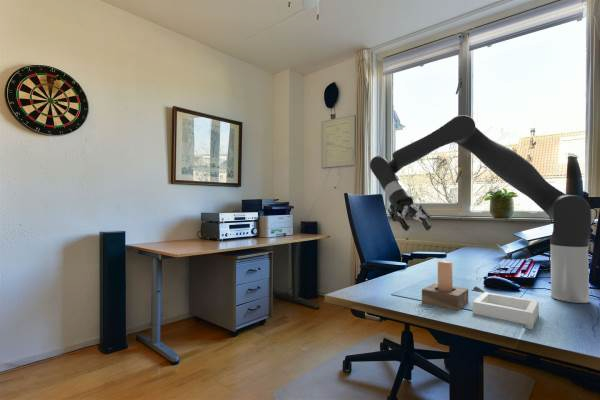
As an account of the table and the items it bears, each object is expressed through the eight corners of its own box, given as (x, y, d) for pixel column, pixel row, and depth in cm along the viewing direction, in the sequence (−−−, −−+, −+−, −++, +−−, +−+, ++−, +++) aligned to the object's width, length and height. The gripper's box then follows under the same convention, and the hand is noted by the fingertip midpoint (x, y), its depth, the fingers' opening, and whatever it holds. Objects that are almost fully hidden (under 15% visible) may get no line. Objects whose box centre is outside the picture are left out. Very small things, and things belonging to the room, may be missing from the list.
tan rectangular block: (440, 299, 96) (440, 260, 97) (454, 302, 94) (454, 262, 94) (435, 302, 93) (435, 262, 94) (450, 305, 91) (449, 263, 91)
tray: (484, 305, 94) (484, 292, 94) (538, 315, 85) (538, 300, 85) (472, 316, 84) (472, 301, 84) (532, 329, 76) (532, 312, 76)
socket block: (434, 299, 101) (434, 283, 101) (468, 305, 94) (468, 288, 94) (421, 306, 93) (421, 289, 93) (458, 314, 86) (458, 295, 86)
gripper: (385, 187, 111) (405, 221, 100) (419, 188, 116) (441, 221, 105) (377, 202, 116) (395, 236, 105) (409, 203, 121) (430, 235, 110)
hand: (418, 229), depth 105 cm, fingers open, 8 cm apart
